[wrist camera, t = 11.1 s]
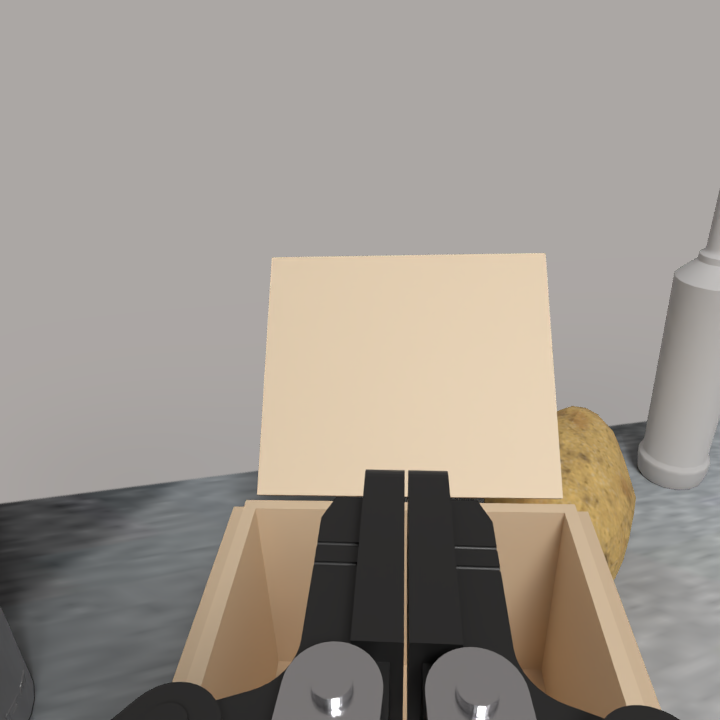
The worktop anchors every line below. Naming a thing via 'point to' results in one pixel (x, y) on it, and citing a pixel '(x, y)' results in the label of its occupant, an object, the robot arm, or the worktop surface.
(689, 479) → the bottle
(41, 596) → the worktop surface
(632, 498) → the potato
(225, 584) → the carton
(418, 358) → the carton flap
